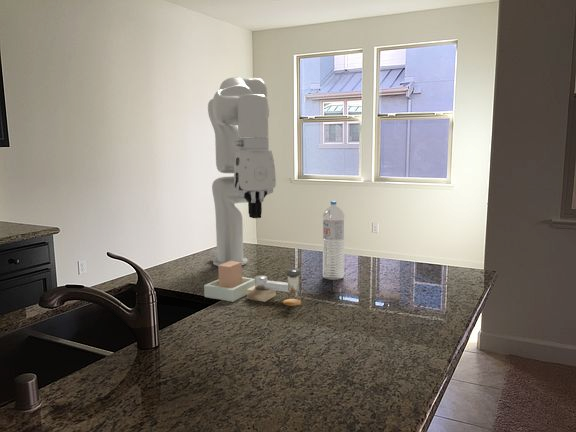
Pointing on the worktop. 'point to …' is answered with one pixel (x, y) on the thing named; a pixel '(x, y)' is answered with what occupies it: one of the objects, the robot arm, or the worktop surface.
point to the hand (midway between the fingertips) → (255, 217)
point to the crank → (289, 287)
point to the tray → (228, 290)
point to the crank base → (267, 296)
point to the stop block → (230, 274)
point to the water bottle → (333, 243)
